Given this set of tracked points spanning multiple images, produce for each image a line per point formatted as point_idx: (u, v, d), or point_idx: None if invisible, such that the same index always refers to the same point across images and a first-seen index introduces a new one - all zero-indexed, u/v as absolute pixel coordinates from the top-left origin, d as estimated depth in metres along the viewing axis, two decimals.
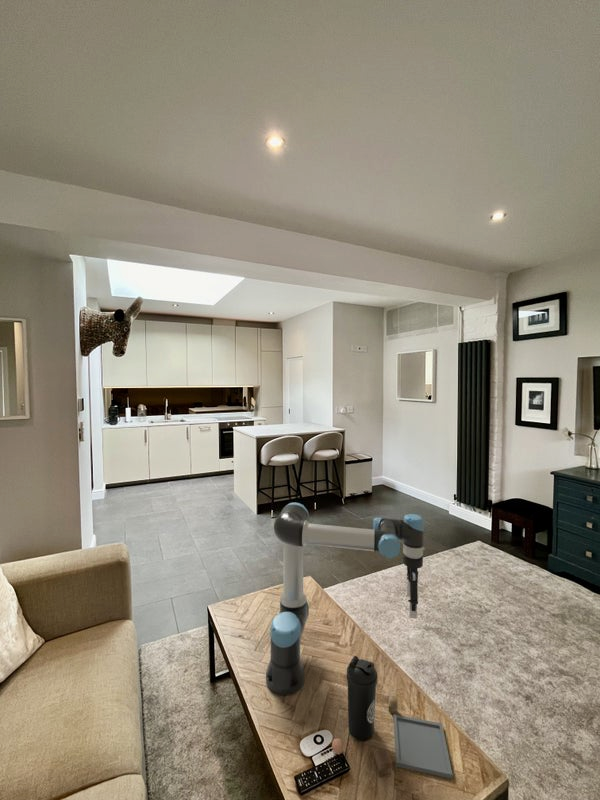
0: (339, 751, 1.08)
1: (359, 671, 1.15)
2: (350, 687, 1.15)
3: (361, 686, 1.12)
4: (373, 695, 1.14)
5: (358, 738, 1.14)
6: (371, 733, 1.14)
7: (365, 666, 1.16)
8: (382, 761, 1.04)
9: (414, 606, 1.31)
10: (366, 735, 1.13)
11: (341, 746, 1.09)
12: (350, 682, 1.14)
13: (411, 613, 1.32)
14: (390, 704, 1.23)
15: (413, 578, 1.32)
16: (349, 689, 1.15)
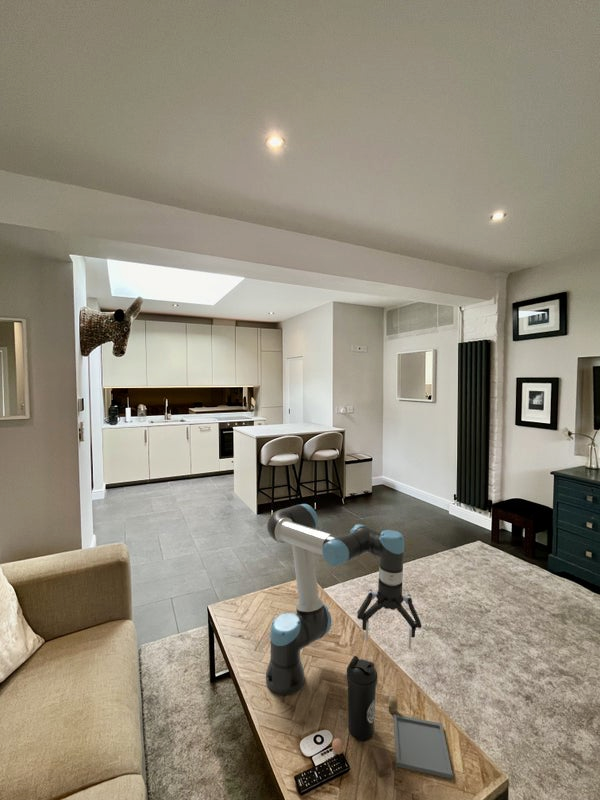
0: (339, 751, 1.08)
1: (359, 671, 1.15)
2: (350, 687, 1.15)
3: (361, 686, 1.12)
4: (373, 695, 1.14)
5: (358, 738, 1.14)
6: (371, 733, 1.14)
7: (365, 666, 1.16)
8: (382, 761, 1.04)
9: None
10: (366, 735, 1.13)
11: (341, 746, 1.09)
12: (350, 682, 1.14)
13: None
14: (390, 704, 1.23)
15: (368, 594, 1.15)
16: (349, 689, 1.15)
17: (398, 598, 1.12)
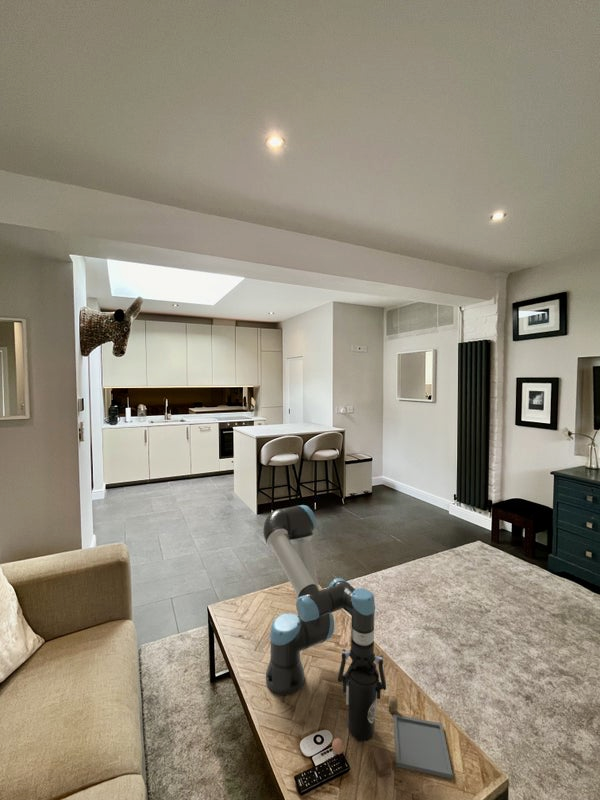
0: (339, 751, 1.08)
1: (361, 671, 1.14)
2: (351, 687, 1.15)
3: (363, 687, 1.12)
4: (374, 695, 1.14)
5: (359, 737, 1.13)
6: (371, 733, 1.14)
7: None
8: (382, 761, 1.04)
9: (343, 685, 1.18)
10: (366, 735, 1.13)
11: (341, 746, 1.09)
12: (351, 682, 1.14)
13: None
14: (390, 704, 1.23)
15: (342, 654, 1.18)
16: (350, 689, 1.15)
17: (370, 657, 1.15)
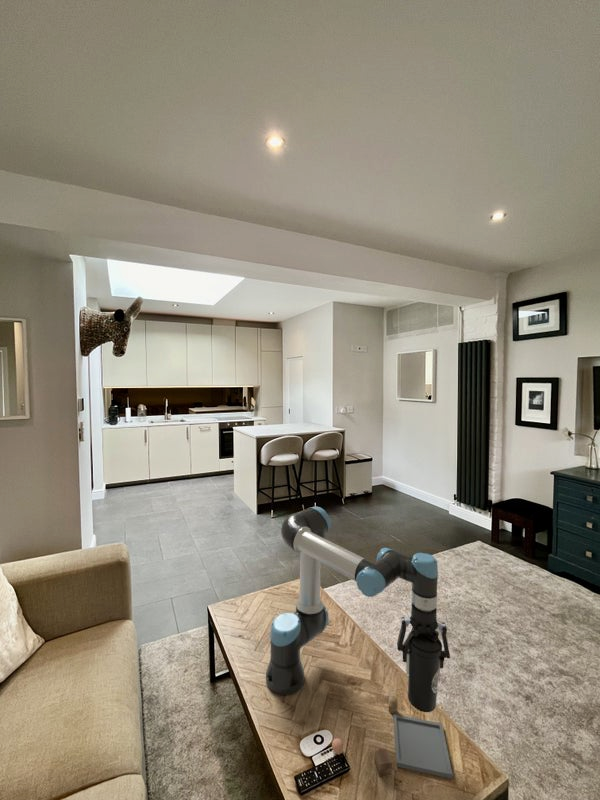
0: (339, 751, 1.08)
1: (423, 638, 1.08)
2: (413, 655, 1.09)
3: (427, 654, 1.06)
4: (438, 664, 1.08)
5: (422, 708, 1.07)
6: (434, 704, 1.08)
7: None
8: (382, 761, 1.04)
9: None
10: (430, 706, 1.07)
11: (341, 746, 1.09)
12: (414, 650, 1.08)
13: None
14: (390, 704, 1.23)
15: None
16: (412, 657, 1.09)
17: (433, 624, 1.09)
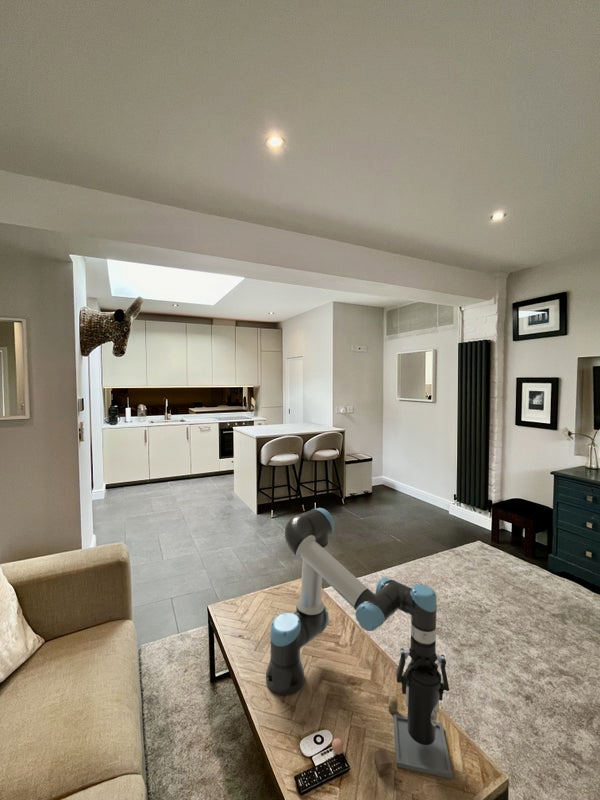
0: (339, 751, 1.08)
1: (422, 671, 1.09)
2: (412, 688, 1.09)
3: (426, 687, 1.06)
4: (437, 697, 1.08)
5: (421, 741, 1.08)
6: (434, 736, 1.09)
7: None
8: (382, 761, 1.04)
9: (402, 686, 1.12)
10: (429, 739, 1.08)
11: (341, 746, 1.09)
12: (413, 682, 1.08)
13: (405, 694, 1.13)
14: (390, 704, 1.23)
15: None
16: (411, 690, 1.10)
17: (432, 656, 1.09)
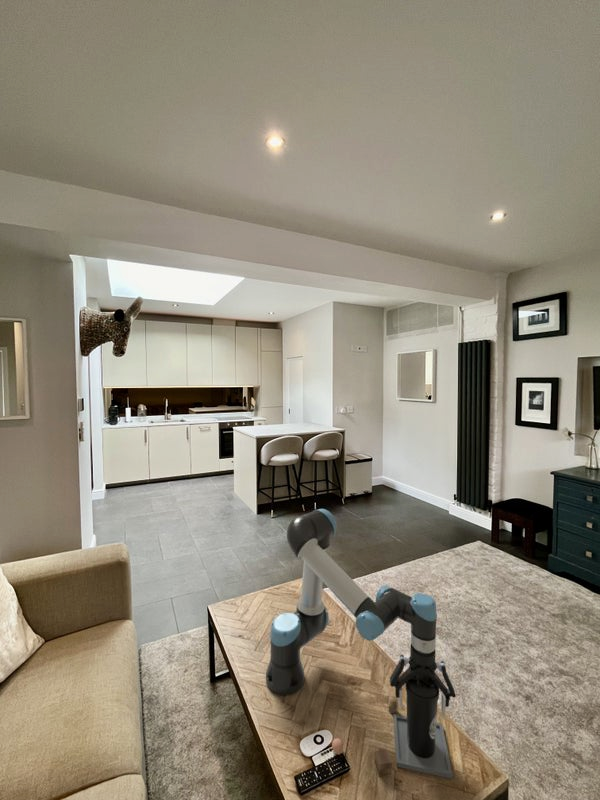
0: (339, 751, 1.08)
1: (420, 684, 1.09)
2: (411, 700, 1.09)
3: (424, 700, 1.06)
4: (435, 709, 1.08)
5: (420, 754, 1.08)
6: (433, 749, 1.09)
7: (426, 678, 1.10)
8: (382, 761, 1.04)
9: (395, 690, 1.13)
10: (428, 752, 1.08)
11: (341, 746, 1.09)
12: (411, 695, 1.09)
13: None
14: (390, 704, 1.23)
15: (400, 660, 1.13)
16: (409, 702, 1.10)
17: (431, 665, 1.09)
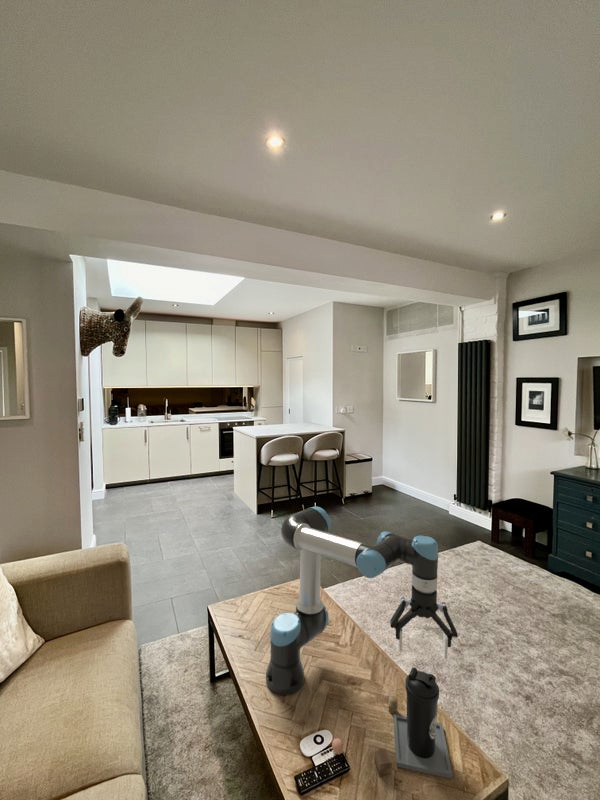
0: (339, 751, 1.08)
1: (420, 684, 1.09)
2: (411, 701, 1.09)
3: (424, 700, 1.06)
4: (435, 710, 1.08)
5: (420, 754, 1.08)
6: (433, 749, 1.09)
7: (426, 679, 1.10)
8: (382, 761, 1.04)
9: None
10: (428, 752, 1.08)
11: (341, 746, 1.09)
12: (411, 695, 1.09)
13: None
14: (390, 704, 1.23)
15: (401, 602, 1.12)
16: (409, 703, 1.10)
17: (433, 606, 1.09)
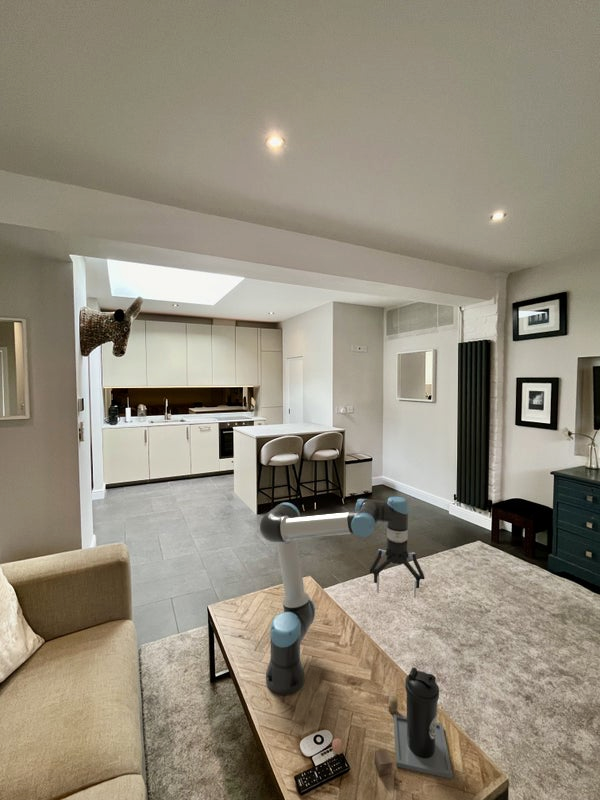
0: (339, 751, 1.08)
1: (420, 684, 1.09)
2: (410, 701, 1.09)
3: (424, 700, 1.06)
4: (435, 710, 1.08)
5: (420, 754, 1.08)
6: (433, 749, 1.09)
7: (426, 679, 1.10)
8: (382, 761, 1.04)
9: (374, 577, 1.34)
10: (428, 752, 1.08)
11: (341, 746, 1.09)
12: (411, 695, 1.09)
13: None
14: (390, 704, 1.23)
15: (378, 551, 1.34)
16: (409, 703, 1.10)
17: (404, 554, 1.31)
